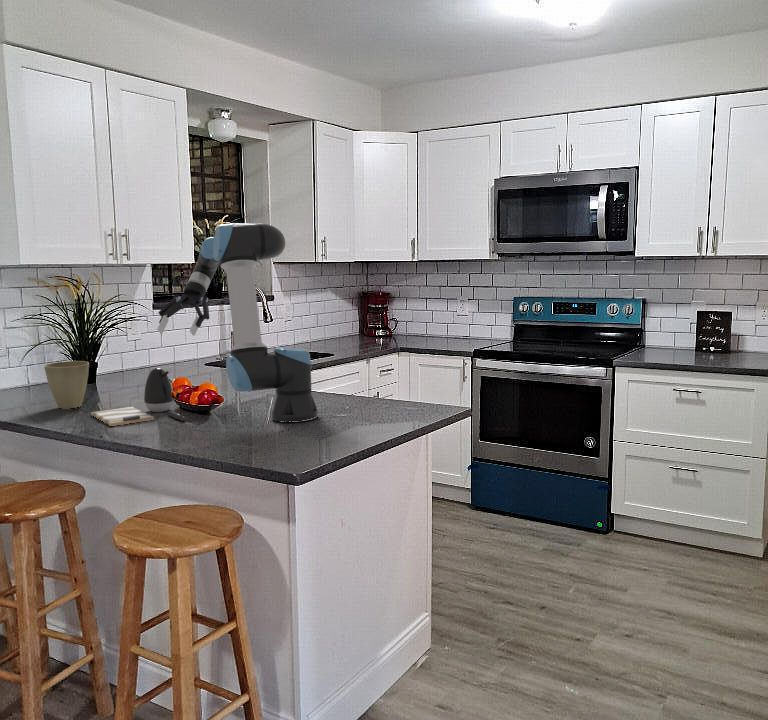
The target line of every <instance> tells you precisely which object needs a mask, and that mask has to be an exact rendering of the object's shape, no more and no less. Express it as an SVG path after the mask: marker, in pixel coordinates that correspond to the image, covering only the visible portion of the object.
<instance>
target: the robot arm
mask: <svg viewBox="0 0 768 720" xmlns="http://www.w3.org/2000/svg"><path fill="white" fill-rule="evenodd" d="M213 236H214V237H213ZM213 236H212V237H211V236H210V237H207V238H205V239H204V241H203V242H202V244H201V246H200V249H199V255H198V258H197V261H196V265H195V267H194V268H193V271H192V273H191V275H190V277H189V279H188V281H187V283H186V285H185V287H184V290H183V293H182V295H181V296H179V295H178V294H174V295H173V297H172V299H171V300H169V302H168V303H166V304H165V305H164V306H163V307H162V308H161V309H160V310H159V311H158V314H159V316H160V319H159V322H158V323H159V325H158V326H157V329H156V330H157V331H158V333H160V335H163V334H164V332H165V329H166V328H167V324H168V323H169V320H170V319H169V318H171V317H172V316H173V315H175V314H176V313H178V312H179V311H181V310H184V309H195V311H196V314H197V316H196V317H195V318H194V320H193V323H192V325H191V327H190V329H189V332H190V334H191V335H192V336H193V337H194V336H196V334H197V332H198V329H199V328H201V326H202V324H203V322H204V321H205V320H210V311H209V304H210V298H208V297H207V295H206V293H207V290H208V288H209V287H210V284H211V281H212V279H213V278H214V275H215V273H216V271H217V270H218V268H219V265H220V268H221V269H222V270H223V271H225V273H226V282H227V290H228V300H229V309H230V316H231V325H232V334H233V346H232V348H231V350H230V355H228V356H226V359H225V368H226V374H227V377H228V381H229V383H230V385H231V387H232V389H233V390H234V391H236V392H239V393H240V392H242V393H243V392H244V393H245V392H248V393H249V392H255V391H264V390H265V391H266V390H275V398H274V402H273V406H272V409H271V412H270V413H271V414H270V415H271V417H270V418H271V420H272V419H273V420H275V421H274V422H276V421H284V422H285V421H286V422H289V421H291V422H292V421H302V420H307V419H311V418H314V417H316V416H317V415H319V413H318V412H319V411H318V408H317V405H316V402H315V399H314V397H313V394H312V393H313V392H312V361H311V354H310V352H309V351H308V350H306V349H303V348H296V347H295V348H294V347H284V346H280V347H277V346H275V347H274V348H273V352H269V351H268V346H267V345H266V344H264V343H263V341H262V332H261V325H260V317H259V316H260V315H259V309H258V299H257V292H256V290H257V289H256V283H255V274H254V269H255V267H257V265H258V262H259V261H260V260H261V261H262V260H269V259H270V260H271V259H274V258H278V256H280V255H281V254H282V253H283V251H284V250H285V248H286V239H285V236H284V234H283V233H282V232H281V230H279V229H278V228H277V227H275V226H273V225H270V224H268V223H232V222H231V223H226V224H225V223H223V224H219V225H217V227H216V229H215V233H214V235H213ZM201 303H202V310H201V309H200V306H199V304H201ZM202 311H203V313H202ZM273 420H272V421H273Z"/></svg>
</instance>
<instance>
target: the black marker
mask: <svg viewBox="0 0 768 720" xmlns="http://www.w3.org/2000/svg"><path fill="white" fill-rule="evenodd" d="M167 415H168V416H169V417H172V418H174V419H177V420H178V421H181V422H183V421H184V422H186V421H187V417H186V416H184V415H182V414H179V413H177V412H174V411H172V410H168V412H167Z"/></svg>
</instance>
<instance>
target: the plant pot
mask: <svg viewBox="0 0 768 720" xmlns="http://www.w3.org/2000/svg"><path fill="white" fill-rule="evenodd" d="M43 367H44V368H43V369H44V371H45V376H46V379H47V383H48V386H49V389H50V391H51V395H52V397H53V398H54V401H55V403H56V406H58V409H59V408H62V409H61V410H71V409H70V408H75V409H78V408H77V407H79V408H80V406H81V407H82V404H83V401H84V397H85V394H86V390H87V386H88V378H89V368H90V363H89V361H85V360H69V361H67V360H66V361H57V362H51V363H47V364H44V365H43Z"/></svg>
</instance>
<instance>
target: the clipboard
mask: <svg viewBox="0 0 768 720" xmlns="http://www.w3.org/2000/svg"><path fill="white" fill-rule="evenodd" d="M90 414H91V415H92V416H91V417H93V416H94V417H93V418H95V417H96V418H97V419H96V418H95V419H96V420H98V419H99V420H98V421H100V420H101V421H103V422H104V423H103V422H102V423H103V424H105V423H106V424H108V425H110V426H115V427H117V426H116V425H121V426H124V425H123V424H128V425H130V424H129V423H135V422H141V421H148V420H154V421H155V416H153V415H151V414H149V413H146V411H145V412H144V411H142V410H140V409H138V408H137V407H134V406H127V407H120V408H114V409H106V410H99V411H98V410H97V411H92V412H90ZM101 421H100V422H101ZM148 422H149V421H148ZM141 423H142V422H141ZM106 424H105V425H106ZM135 424H136V423H135ZM108 425H107V426H108ZM110 426H109V427H110Z"/></svg>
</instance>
